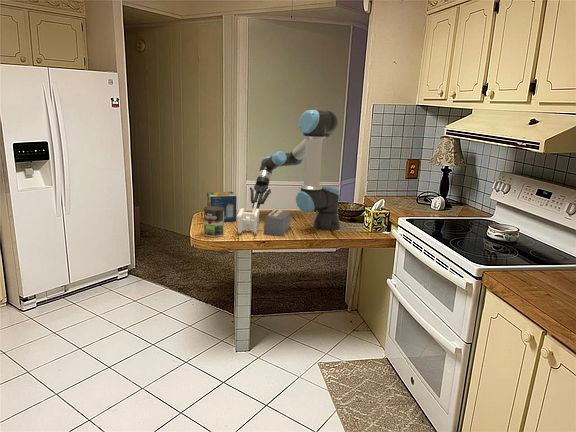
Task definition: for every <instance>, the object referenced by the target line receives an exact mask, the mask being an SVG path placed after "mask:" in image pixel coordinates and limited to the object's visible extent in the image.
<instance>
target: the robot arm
mask: <svg viewBox="0 0 576 432" xmlns="http://www.w3.org/2000/svg"><path fill="white" fill-rule="evenodd" d="M298 125H299V127H298V128H299V129H300V131H301V132H302V133H303V138H304V139H303V140H301V141H300V143H299V144H298V145H297V146H295V148H293V150H291V151H290V152H287V153H286V152H284V151H281V150H280V151H276V152H275V153H273V154H272V155H270V156H269V155H267V156H264V157H263V158H262V161H261V163H260V167H259V171H258V173H257V178H256V180H255V185H254V186H253V187H251V186H250V187H249V191H250V203H251V204H252V206H251V208H252V210H251V211H252V212H251V213H255V211H256V209H259V210H260V206H261V205H264V204H265V202H266V201H267V199H268V197H269V195H271V193H272V190H271V189H270V188H269V184H270V181H271V178H272V173H273V171H274V170H276V169H277V168H278V167H287V166H288V167H290V166H298V165H301V164H302V163H303V160H304V173H303V184H302V185H301V186H300V191H298V192H297V194H296V196H295V203H296V206H297V207H298V209H299V210H300V212H303V213H313V212H316V215H315V218H314V219H313V224H312V225H313V227H315V228H316V229H320V230H326V231H327V230H331V231H332V230H337V229H340V228H341V227H340V226H341V223H340V222H341V221H340V218H339V201H340V189H339V188H338V187H334V186H329V185H321V170H322V169H321V168H322V167H321V166H322V153H323V151H322V150H323V140H324V139H325V138H329V137H331V136H332V135H333V134H334V132H335V131H336V130H337V128H338V125H339V118H338V116H337V115H336V113H334V112H333V111H331V110H327V109H309V110H308V109H307V110H305V111H304V112H303V113H302V114H301V115H300V118H299V121H298ZM254 191H255V195H254Z"/></svg>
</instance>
